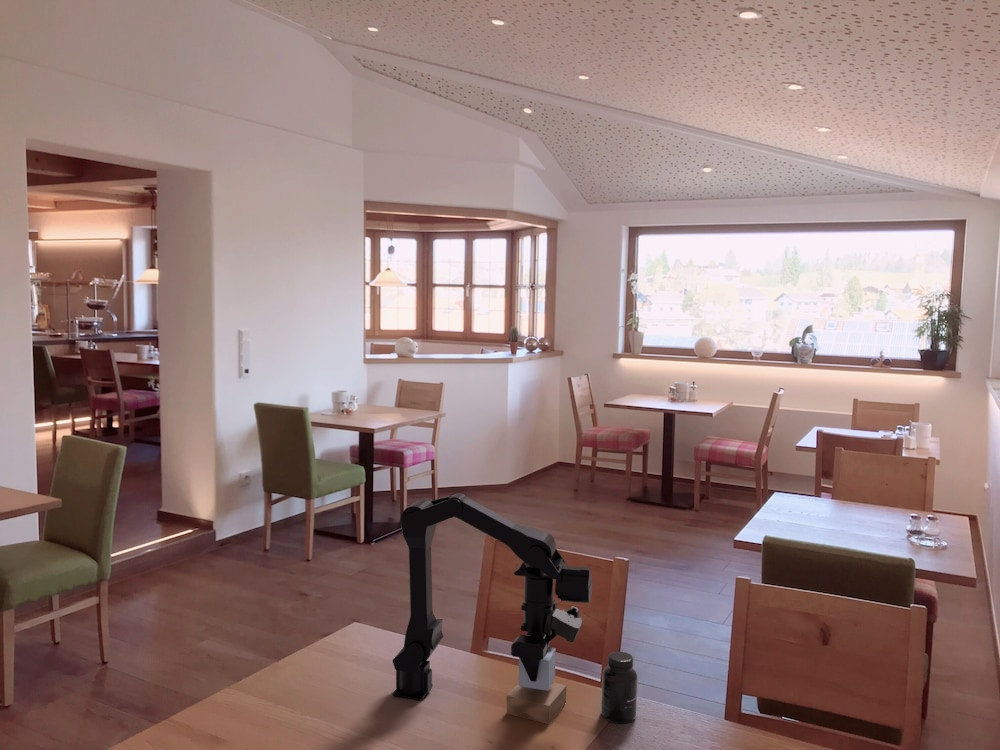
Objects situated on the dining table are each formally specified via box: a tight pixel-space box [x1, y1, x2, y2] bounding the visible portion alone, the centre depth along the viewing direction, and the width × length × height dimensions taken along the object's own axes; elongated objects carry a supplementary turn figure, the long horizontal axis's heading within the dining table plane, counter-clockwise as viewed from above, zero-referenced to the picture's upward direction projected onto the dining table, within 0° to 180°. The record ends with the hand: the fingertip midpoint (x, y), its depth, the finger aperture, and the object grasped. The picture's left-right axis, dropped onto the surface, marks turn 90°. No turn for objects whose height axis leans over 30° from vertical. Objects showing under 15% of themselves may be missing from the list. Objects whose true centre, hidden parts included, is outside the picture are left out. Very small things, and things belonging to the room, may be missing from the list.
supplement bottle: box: [600, 651, 639, 724], centre depth 156 cm, size 7×7×12 cm
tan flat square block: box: [506, 681, 567, 725], centre depth 159 cm, size 9×9×4 cm
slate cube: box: [518, 646, 557, 691], centre depth 158 cm, size 6×6×6 cm
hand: (537, 674), depth 158 cm, fingers closed on slate cube, 6 cm apart
